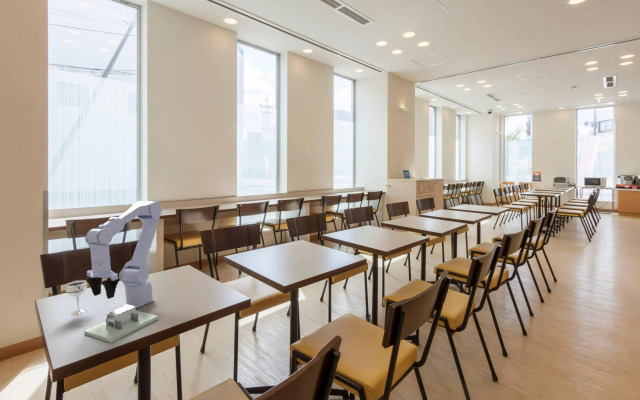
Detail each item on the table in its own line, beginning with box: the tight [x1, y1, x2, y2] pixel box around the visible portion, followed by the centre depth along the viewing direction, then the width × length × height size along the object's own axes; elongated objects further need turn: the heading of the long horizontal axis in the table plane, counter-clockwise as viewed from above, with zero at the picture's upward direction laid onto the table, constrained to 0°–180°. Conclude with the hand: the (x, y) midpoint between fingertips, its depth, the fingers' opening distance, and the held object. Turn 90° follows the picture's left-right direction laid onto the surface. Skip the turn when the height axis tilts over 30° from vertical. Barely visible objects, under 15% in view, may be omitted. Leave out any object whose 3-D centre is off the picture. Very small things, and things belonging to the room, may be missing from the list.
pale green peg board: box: [83, 310, 159, 343], centre depth 119 cm, size 18×14×4 cm
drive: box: [106, 305, 137, 329], centre depth 118 cm, size 8×4×5 cm, turn 156°
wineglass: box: [65, 279, 88, 316], centre depth 131 cm, size 7×7×12 cm
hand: (104, 296), depth 123 cm, fingers open, 7 cm apart
